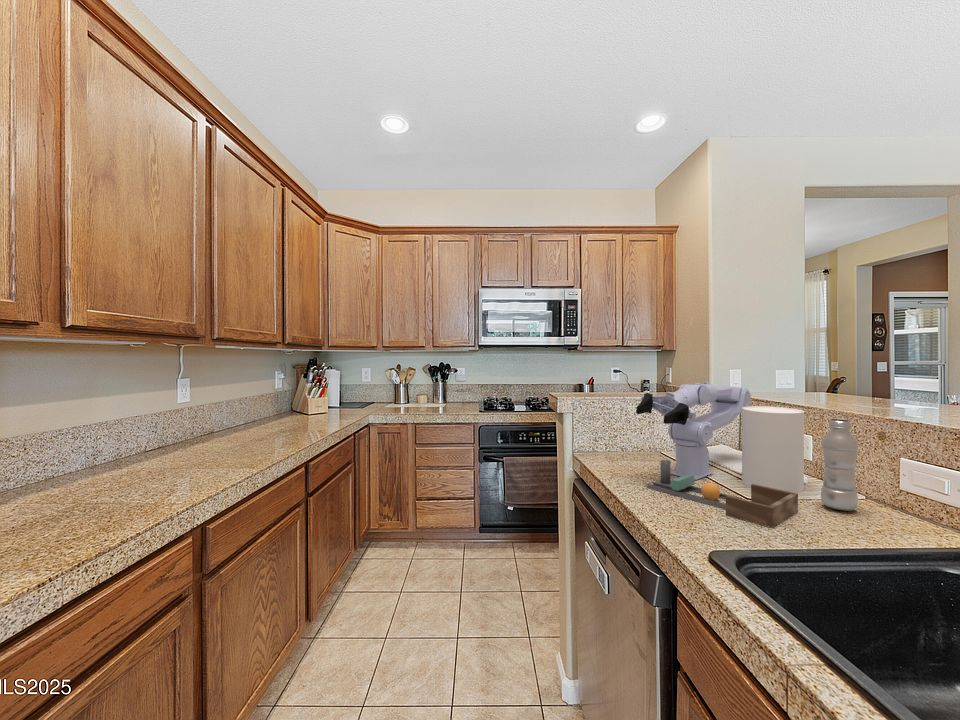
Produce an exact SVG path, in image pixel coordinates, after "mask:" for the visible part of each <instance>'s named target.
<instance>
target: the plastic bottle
mask: <svg viewBox="0 0 960 720" xmlns="http://www.w3.org/2000/svg"><path fill="white" fill-rule="evenodd" d="M828 423H829V424H828V428H829V431H827V432H826V434H825V435H824V436H823V438H822V439H821V450H822V455H823V456H822V457H823V465H824V468H823V469H824V472H823V481H822V482H823V483H822V485H821V490H820V498H821V502H822V503H823V505H824V506H825V507H827V508H830V509H833V510H838V511H845V512H853V511H854V510H855V509H856V508H858V504H859V496H858V493H857V487H856V477H855V475H856V471H855V470H856V462H857V457H858V452H859V443H858V441H857V439H856V438H855V436H854V435H853V434H852V433H851V432H850V430H852V427H851V420H849V419H843V418H830V419H829V422H828Z"/></svg>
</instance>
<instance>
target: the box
mask: <svg viewBox="0 0 960 720" xmlns="http://www.w3.org/2000/svg"><path fill="white" fill-rule="evenodd" d="M732 496H733V495H731V496H726V499H725V504H726V509H725V515H726V516H729V517H732V518H737V519H740V520H743V521H747V522H751V523H754V524H757V525H760V524H761V525H760V526H764V525H765V527H767V526H769V527H768V528H771V527H773V528H775V527H776V526H778V525H780V524H781V523H783V522H785V521H786V520H788V519H790V518H791V517H793V516H794V515H796V514H797V513H798V512H799V493H792V492H787V491H783V490H778V489H774V488H769V487H764V486H760V485H755V484H752V485H751V487H750V500H748V499H743V498H742V499H740V498H741V497H739V498H736V497H737V496H735V497H732Z"/></svg>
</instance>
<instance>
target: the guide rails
mask: <svg viewBox="0 0 960 720" xmlns="http://www.w3.org/2000/svg"><path fill="white" fill-rule="evenodd" d="M646 488H648V489H650V490H653V491H658V492H662V493H665V494H668V495H669V494H670V495H671V496H676V497H680V498H684V499H687V500H691V501H694V502H697V503H700V504H705V505H709V506H712V507H716V508H719V509H724V510H726V502H721V501H716V500H710V499H706V498H705V497H702V496H699V495H695V494H690V493H687V492H684V491H683V492H682V491H681V490H679V491H676V490H672V489H668V488H665V487H661V486H657V485H653V483H647V484H646ZM701 488H702V487H698V486H694V485H692V486H689V487H686V488H684V489H683V490H687V491H691V492H694V493H700V494H702V492H701ZM726 496H732V497H736V498H740V499H743V497H738V496H734V495H730V494H727V493H723V492H720V496H719V497H718V498H717V499H722V500H726Z"/></svg>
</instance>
